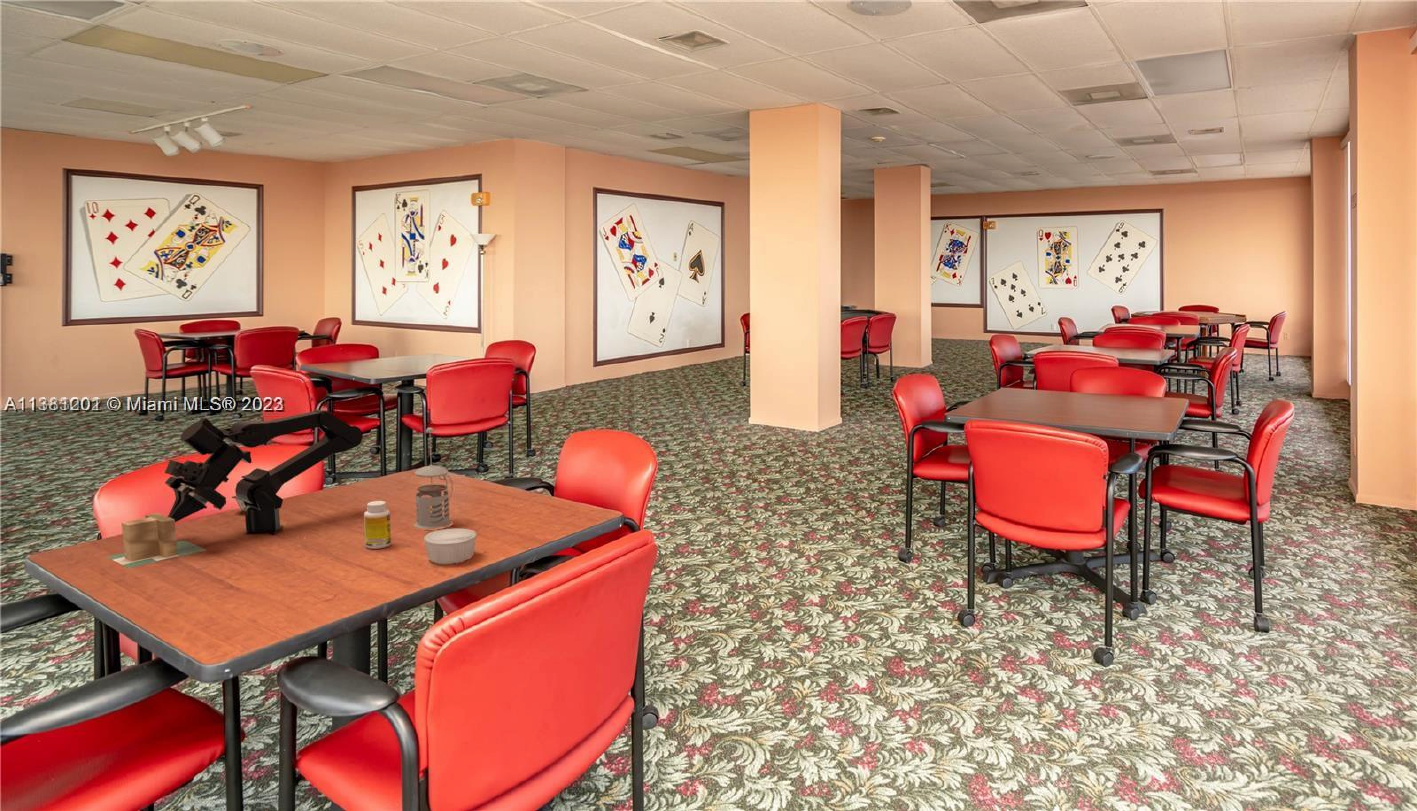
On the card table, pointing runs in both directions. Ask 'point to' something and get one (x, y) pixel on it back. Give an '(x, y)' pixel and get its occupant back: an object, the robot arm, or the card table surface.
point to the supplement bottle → (377, 525)
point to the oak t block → (149, 537)
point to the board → (182, 550)
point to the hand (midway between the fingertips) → (168, 523)
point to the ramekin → (450, 545)
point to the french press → (424, 503)
